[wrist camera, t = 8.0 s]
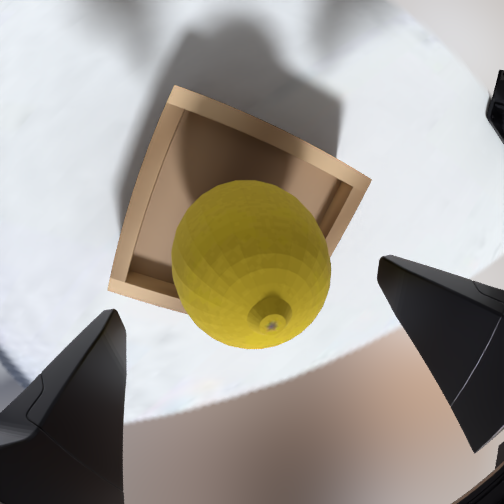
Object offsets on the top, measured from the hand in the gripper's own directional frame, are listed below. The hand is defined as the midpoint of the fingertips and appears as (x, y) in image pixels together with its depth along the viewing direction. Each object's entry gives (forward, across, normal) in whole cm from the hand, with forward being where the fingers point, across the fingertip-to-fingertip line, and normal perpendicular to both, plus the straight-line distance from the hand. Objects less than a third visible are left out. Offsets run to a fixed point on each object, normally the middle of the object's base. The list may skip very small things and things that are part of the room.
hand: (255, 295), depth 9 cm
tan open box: (+9, 0, 0) cm, 9 cm away
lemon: (+6, 0, 0) cm, 6 cm away
